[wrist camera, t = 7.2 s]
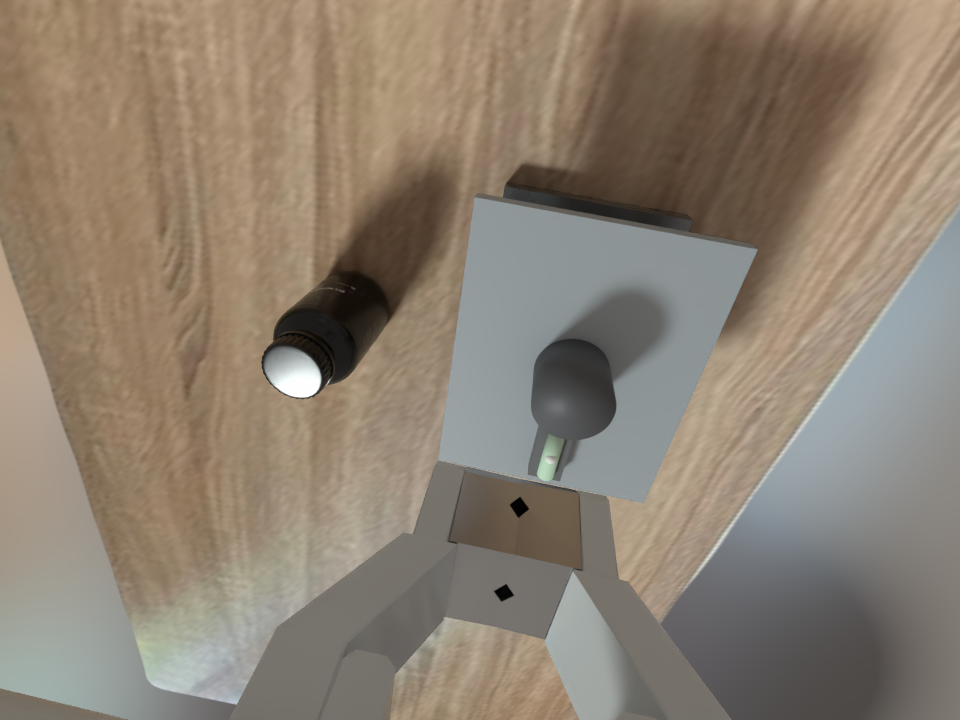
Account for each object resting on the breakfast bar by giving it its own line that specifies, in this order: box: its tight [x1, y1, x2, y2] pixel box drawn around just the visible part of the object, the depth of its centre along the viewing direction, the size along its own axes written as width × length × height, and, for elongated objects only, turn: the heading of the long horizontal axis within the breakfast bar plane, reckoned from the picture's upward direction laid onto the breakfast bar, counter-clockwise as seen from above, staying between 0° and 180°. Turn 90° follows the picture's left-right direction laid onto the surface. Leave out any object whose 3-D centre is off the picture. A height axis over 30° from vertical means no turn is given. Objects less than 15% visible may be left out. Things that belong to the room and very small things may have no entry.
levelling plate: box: [438, 193, 758, 503], centre depth 31 cm, size 20×16×6 cm
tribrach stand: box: [503, 182, 693, 232], centre depth 38 cm, size 18×14×9 cm
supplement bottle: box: [261, 272, 389, 399], centre depth 40 cm, size 7×7×12 cm
